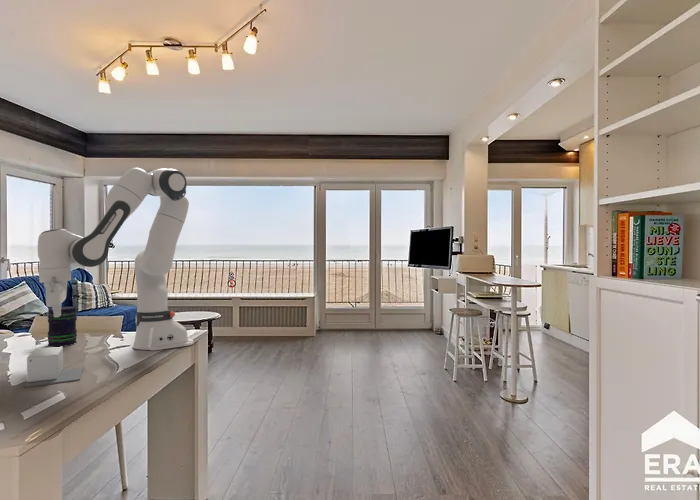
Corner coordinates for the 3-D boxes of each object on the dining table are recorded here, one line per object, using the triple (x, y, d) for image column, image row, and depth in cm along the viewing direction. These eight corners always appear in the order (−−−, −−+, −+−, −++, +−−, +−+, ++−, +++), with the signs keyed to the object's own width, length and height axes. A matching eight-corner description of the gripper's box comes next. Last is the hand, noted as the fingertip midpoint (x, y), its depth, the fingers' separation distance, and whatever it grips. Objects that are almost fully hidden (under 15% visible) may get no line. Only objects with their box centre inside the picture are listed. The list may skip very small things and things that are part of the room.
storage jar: (71, 340, 176) (71, 305, 176) (81, 343, 170) (81, 307, 171) (43, 344, 168) (43, 308, 168) (52, 347, 162) (53, 310, 163)
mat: (83, 368, 133) (83, 367, 133) (79, 380, 121) (79, 379, 121) (33, 374, 127) (33, 373, 127) (24, 387, 115) (24, 386, 115)
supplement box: (34, 371, 128) (25, 382, 117) (35, 348, 129) (26, 356, 118) (63, 369, 132) (57, 379, 121) (64, 345, 132) (57, 354, 121)
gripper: (63, 277, 133) (65, 320, 133) (69, 274, 151) (71, 311, 151) (38, 279, 130) (41, 322, 130) (48, 275, 147) (50, 313, 148)
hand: (57, 316), depth 141 cm, fingers closed
